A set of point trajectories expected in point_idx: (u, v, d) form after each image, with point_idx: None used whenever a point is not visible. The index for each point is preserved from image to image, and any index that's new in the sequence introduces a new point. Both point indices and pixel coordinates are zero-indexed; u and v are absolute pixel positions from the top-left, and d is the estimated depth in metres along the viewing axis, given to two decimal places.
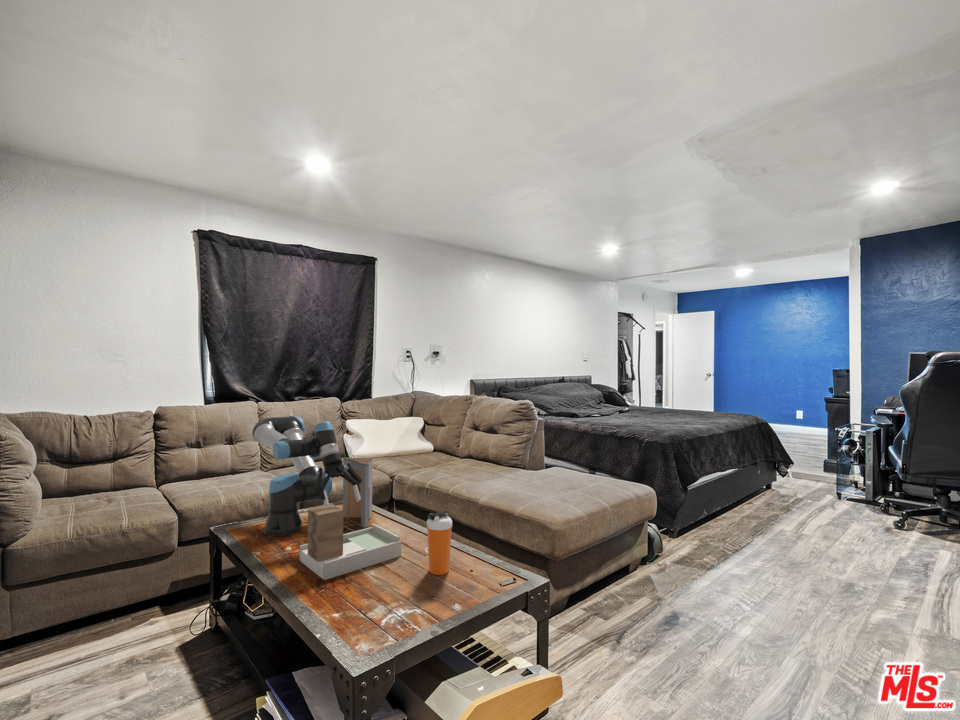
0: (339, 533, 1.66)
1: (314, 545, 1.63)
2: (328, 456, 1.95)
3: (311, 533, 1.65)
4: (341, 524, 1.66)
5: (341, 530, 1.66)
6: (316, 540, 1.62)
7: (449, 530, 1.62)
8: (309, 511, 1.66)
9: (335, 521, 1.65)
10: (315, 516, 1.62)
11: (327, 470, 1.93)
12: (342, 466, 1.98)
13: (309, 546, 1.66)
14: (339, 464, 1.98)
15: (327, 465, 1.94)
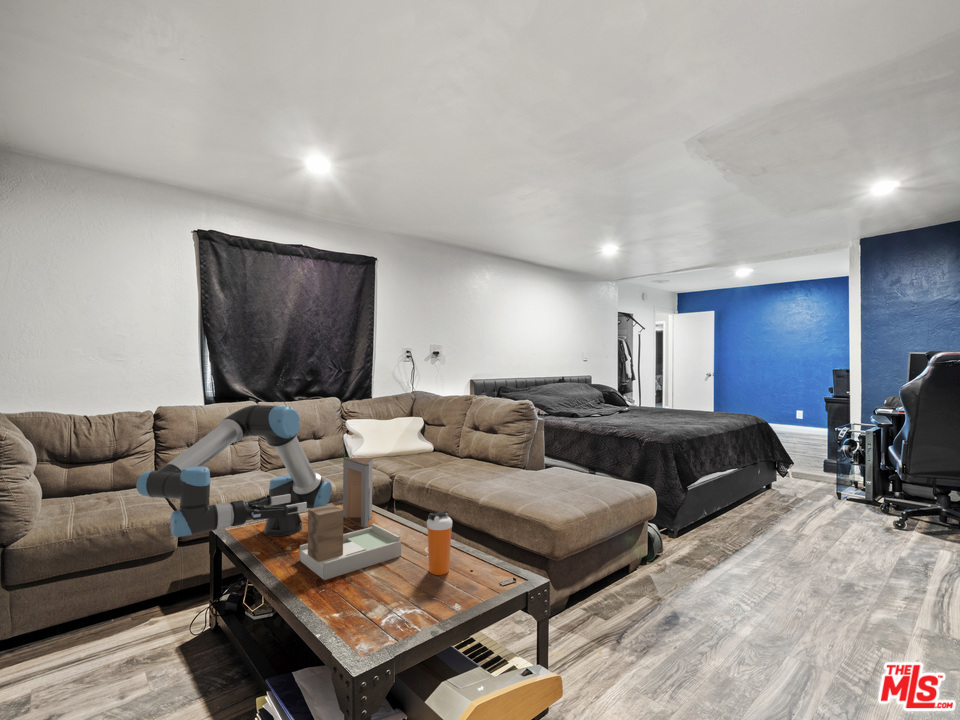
0: (339, 533, 1.66)
1: (314, 545, 1.63)
2: None
3: (311, 533, 1.65)
4: (341, 524, 1.66)
5: (341, 530, 1.66)
6: (316, 540, 1.62)
7: (449, 530, 1.62)
8: (309, 511, 1.66)
9: (335, 521, 1.65)
10: (315, 516, 1.62)
11: None
12: None
13: (309, 546, 1.66)
14: None
15: None
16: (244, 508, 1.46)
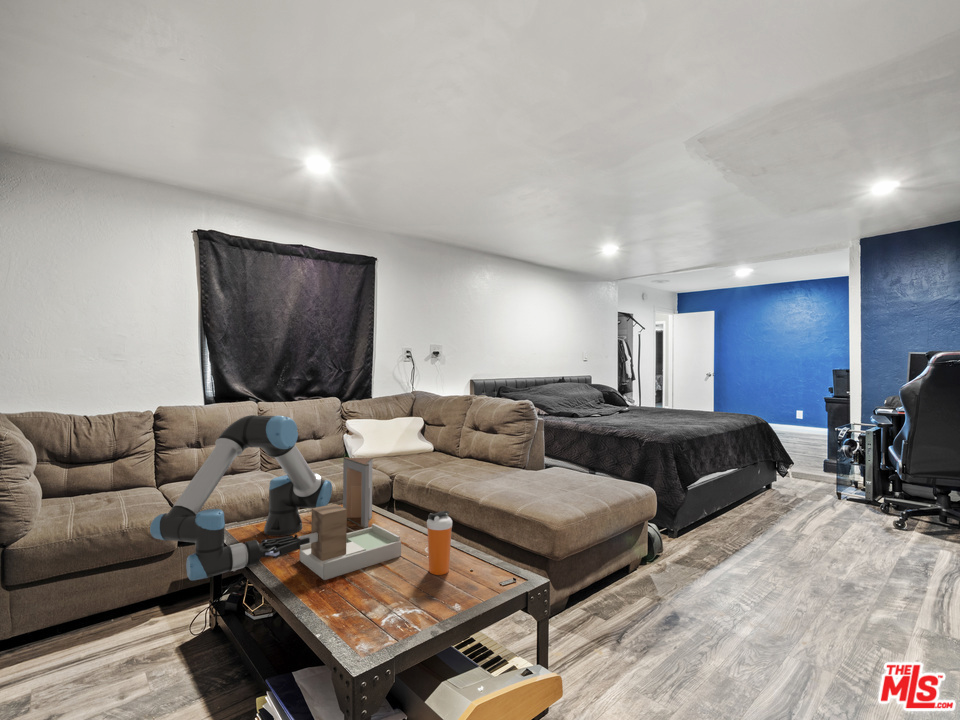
0: (343, 532, 1.66)
1: (318, 544, 1.63)
2: None
3: (314, 532, 1.66)
4: (344, 523, 1.67)
5: (344, 529, 1.67)
6: (320, 539, 1.62)
7: (449, 530, 1.62)
8: (313, 510, 1.67)
9: (338, 521, 1.65)
10: (319, 515, 1.63)
11: None
12: None
13: (312, 545, 1.67)
14: None
15: None
16: (258, 548, 1.48)
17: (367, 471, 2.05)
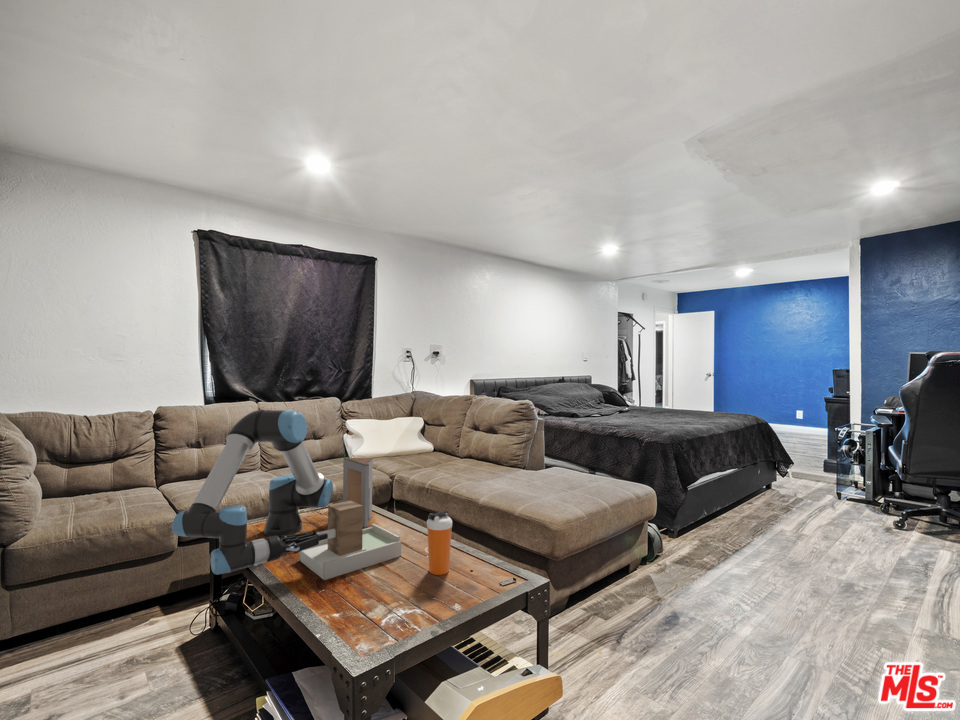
0: (359, 528, 1.71)
1: (335, 540, 1.68)
2: None
3: (331, 528, 1.70)
4: (361, 519, 1.71)
5: (361, 525, 1.71)
6: (337, 535, 1.67)
7: (449, 530, 1.62)
8: (329, 507, 1.71)
9: (355, 517, 1.70)
10: (336, 512, 1.67)
11: None
12: None
13: (329, 541, 1.71)
14: None
15: None
16: (279, 544, 1.52)
17: (367, 471, 2.05)
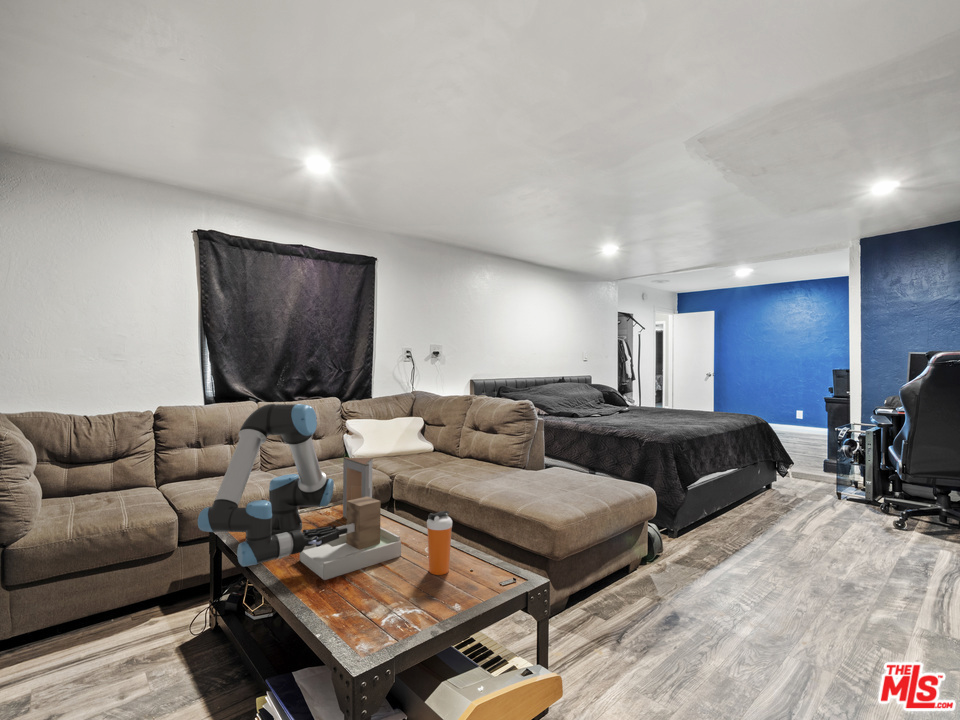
0: (377, 523, 1.77)
1: (354, 534, 1.73)
2: None
3: (350, 523, 1.75)
4: (378, 514, 1.77)
5: (378, 520, 1.77)
6: (356, 529, 1.72)
7: (449, 530, 1.62)
8: (348, 503, 1.76)
9: (373, 512, 1.76)
10: (356, 507, 1.73)
11: None
12: None
13: (348, 536, 1.76)
14: None
15: None
16: (302, 537, 1.57)
17: (367, 471, 2.05)
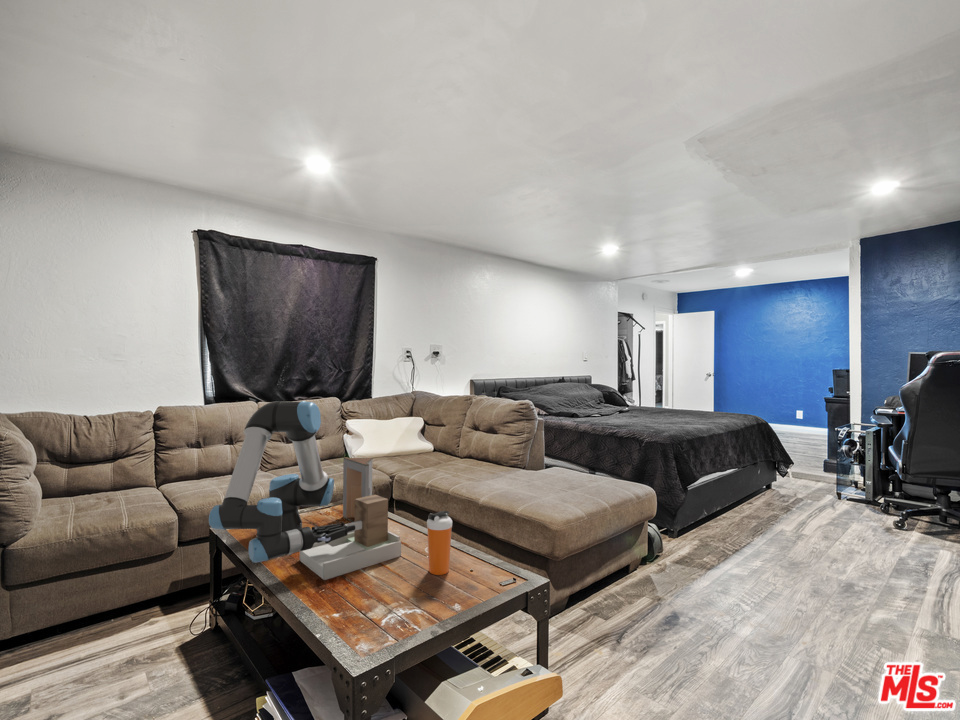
0: (385, 521, 1.79)
1: (363, 532, 1.76)
2: None
3: None
4: (386, 512, 1.80)
5: (386, 518, 1.80)
6: (365, 527, 1.75)
7: (449, 530, 1.62)
8: (356, 501, 1.79)
9: (381, 510, 1.78)
10: (364, 505, 1.76)
11: None
12: None
13: (356, 533, 1.79)
14: None
15: None
16: (312, 534, 1.60)
17: (367, 471, 2.05)
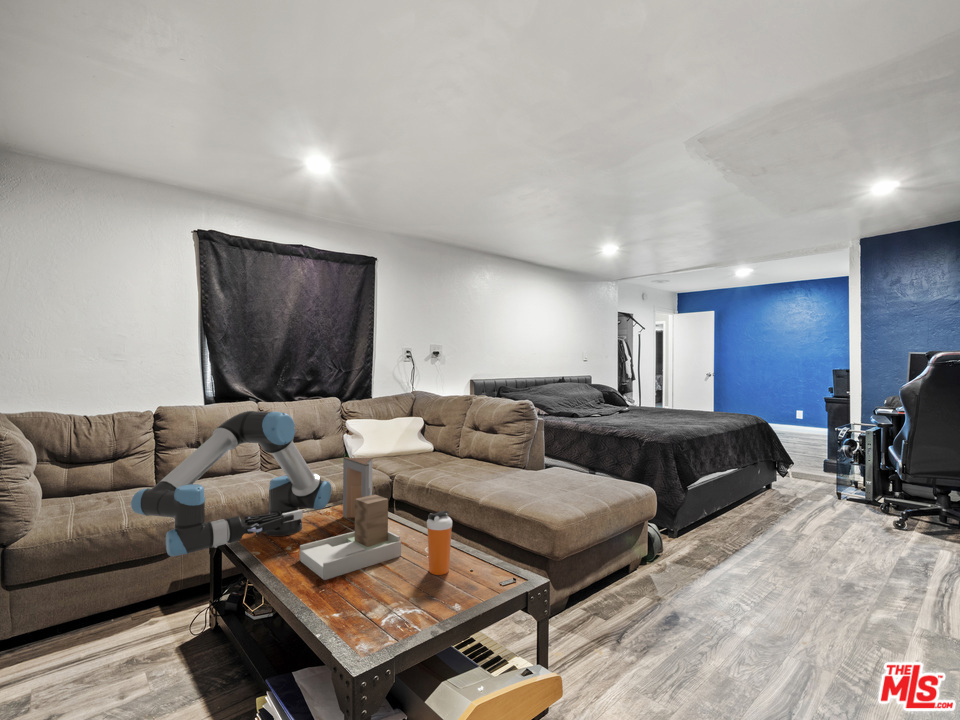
0: (385, 520, 1.79)
1: (363, 532, 1.76)
2: None
3: (358, 521, 1.78)
4: (386, 512, 1.80)
5: (386, 518, 1.80)
6: (365, 527, 1.75)
7: (449, 530, 1.62)
8: (356, 501, 1.79)
9: (381, 510, 1.78)
10: (364, 505, 1.76)
11: None
12: None
13: (356, 533, 1.79)
14: None
15: None
16: (240, 525, 1.45)
17: (367, 471, 2.05)
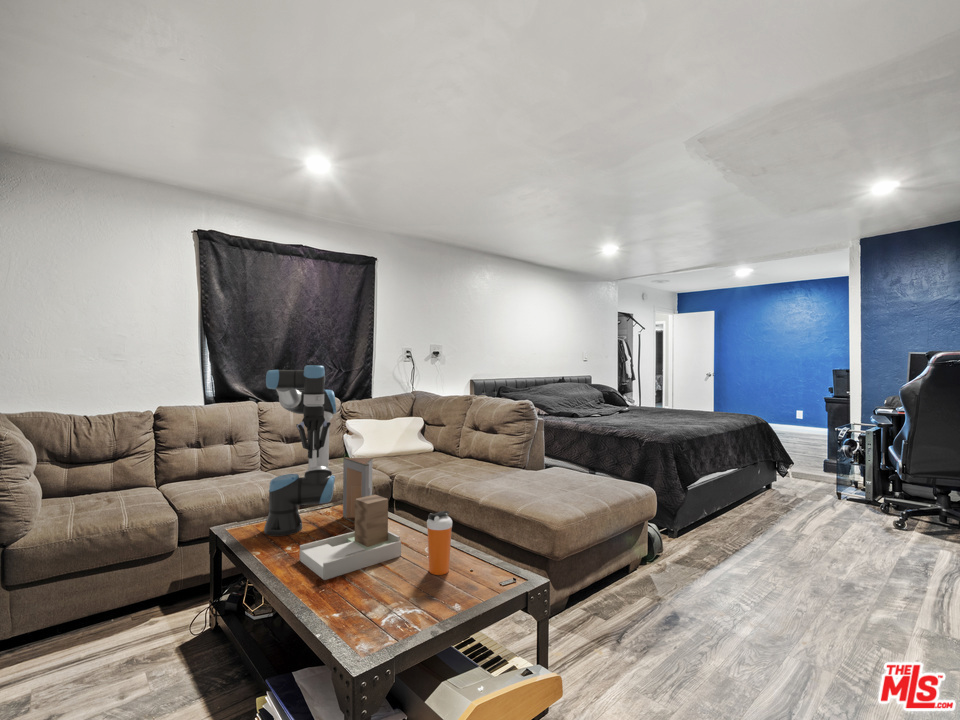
0: (385, 520, 1.79)
1: (363, 532, 1.76)
2: (310, 409, 1.77)
3: (358, 521, 1.78)
4: (386, 512, 1.80)
5: (386, 518, 1.80)
6: (365, 527, 1.75)
7: (449, 530, 1.62)
8: (356, 501, 1.79)
9: (381, 510, 1.78)
10: (364, 505, 1.76)
11: (305, 422, 1.77)
12: (322, 420, 1.82)
13: (356, 533, 1.79)
14: (320, 417, 1.81)
15: (307, 417, 1.78)
16: None
17: (367, 471, 2.05)
